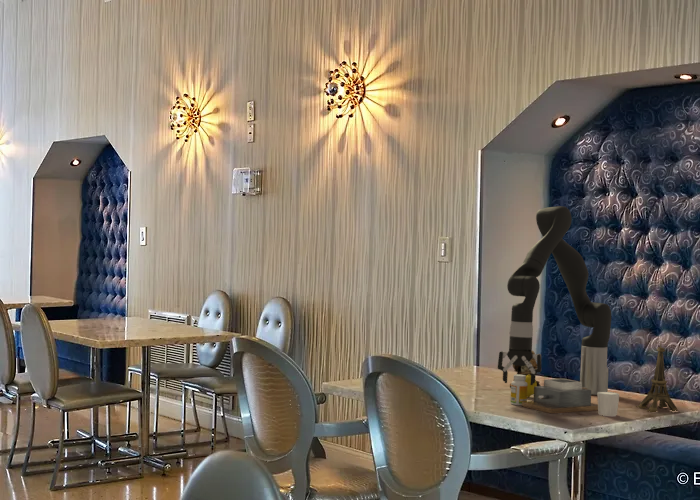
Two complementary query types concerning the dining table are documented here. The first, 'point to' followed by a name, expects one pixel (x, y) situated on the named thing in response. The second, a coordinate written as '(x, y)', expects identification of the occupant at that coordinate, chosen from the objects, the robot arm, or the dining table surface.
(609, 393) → the white cup
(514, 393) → the supplement bottle
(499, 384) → the dining table surface
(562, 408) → the grey and brown box
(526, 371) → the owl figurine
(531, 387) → the lemon
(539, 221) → the robot arm
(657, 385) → the eiffel tower
